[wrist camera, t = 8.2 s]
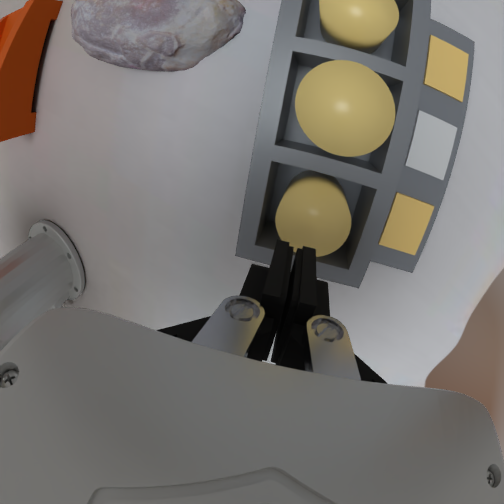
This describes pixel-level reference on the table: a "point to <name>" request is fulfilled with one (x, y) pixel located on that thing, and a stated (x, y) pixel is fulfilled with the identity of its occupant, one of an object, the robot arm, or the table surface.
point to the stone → (155, 30)
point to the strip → (429, 148)
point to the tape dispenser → (22, 64)
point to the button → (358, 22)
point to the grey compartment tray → (316, 159)
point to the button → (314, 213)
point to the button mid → (345, 108)
